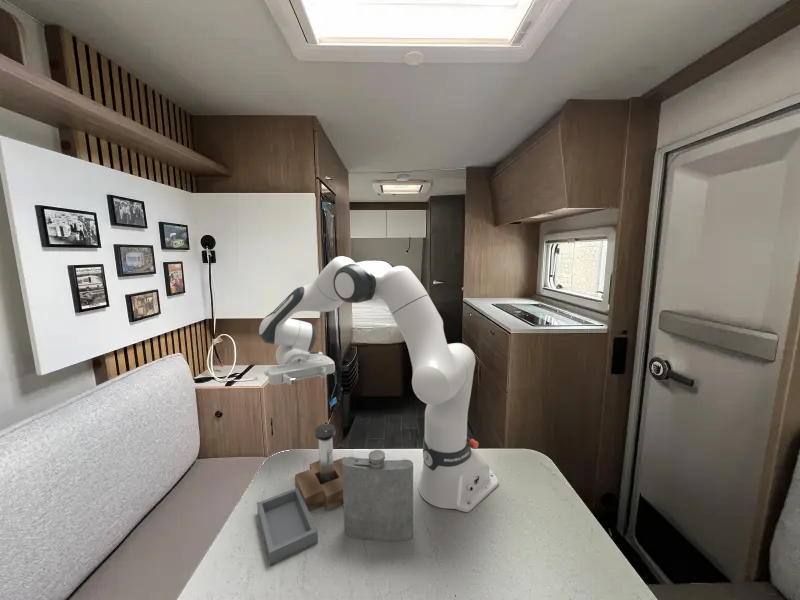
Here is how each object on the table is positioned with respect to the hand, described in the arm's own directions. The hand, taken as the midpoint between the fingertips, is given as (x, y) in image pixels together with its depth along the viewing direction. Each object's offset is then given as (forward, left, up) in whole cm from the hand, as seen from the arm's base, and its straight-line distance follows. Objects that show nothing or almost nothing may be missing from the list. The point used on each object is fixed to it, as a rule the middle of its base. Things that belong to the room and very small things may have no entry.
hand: (308, 378), depth 96 cm
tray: (+12, +20, -27) cm, 36 cm away
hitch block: (0, +13, -27) cm, 30 cm away
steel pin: (0, +13, -27) cm, 30 cm away
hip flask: (-5, +33, -27) cm, 43 cm away
